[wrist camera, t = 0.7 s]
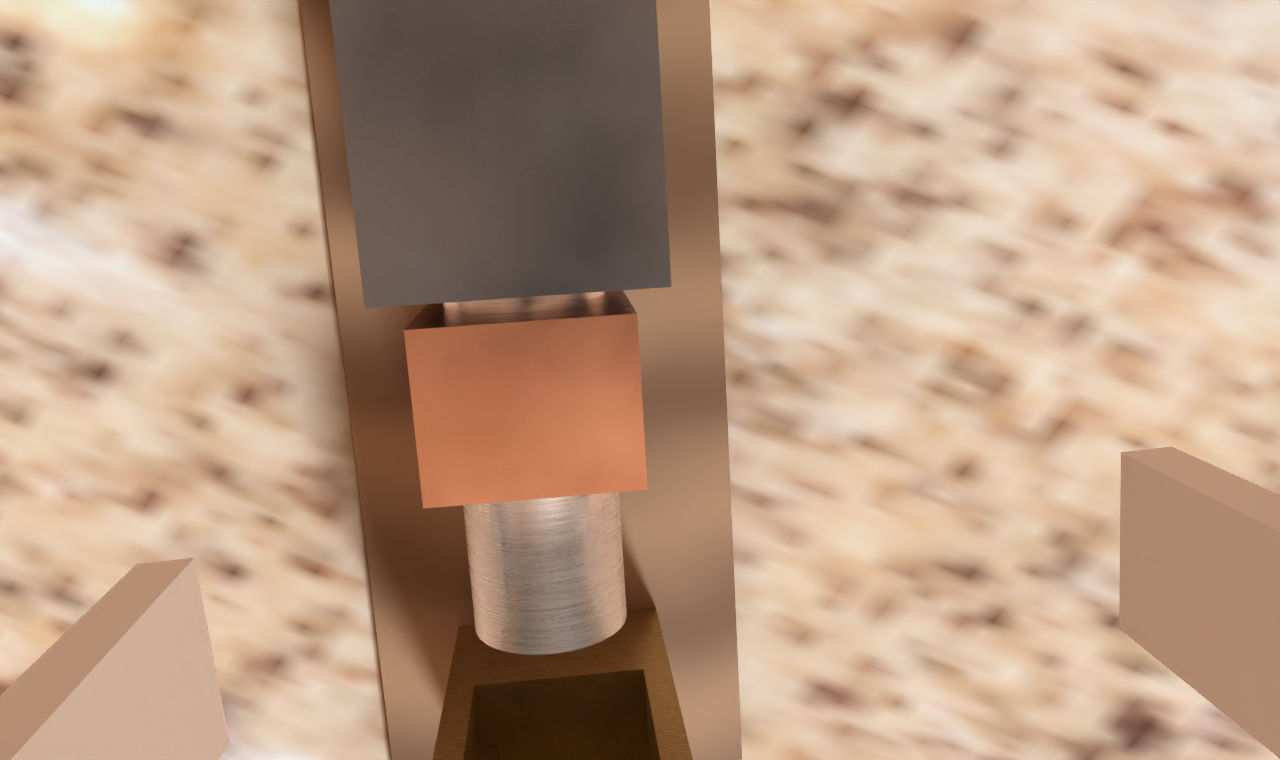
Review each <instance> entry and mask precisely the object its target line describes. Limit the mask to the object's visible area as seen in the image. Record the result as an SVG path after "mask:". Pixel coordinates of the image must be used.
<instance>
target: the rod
mask: <svg viewBox="0 0 1280 760" xmlns="http://www.w3.org/2000/svg"><path fill="white" fill-rule="evenodd" d="M404 337H405V346H406V355H407V364H408V374H409V383H410V392H411V401H412V411H413V420H414V429H415V438H416V447H417V457H418V466H419V475H420V484H421V493H422V503H423V509H424V508H436V507H448V506H460V505H463V509H464V519H465V529H466V539H467V549H468V559H469V569H470V579H471V589H472V599H473V609H474V619H475V629H476V633H477V635H478V637H479V638H480V639H481V640H482V641H483V642H484V643H485V644H487V645H489V646H491V647H493V648H495V649H498V650H501V651H505V652H510V653H516V654H527V655H544V654H556V653H563V652H569V651H574V650H578V649H582V648H585V647H588V646H591V645H594V644H596V643H599V642H601V641H603V640H605V639H607V638H608V637H610V636H612V635H613V634H615V633H616V632H617V631H618V630H619V629H620V628H621V627H622V626H623V624H624V623H625V621H626V617H627V610H626V595H625V580H624V565H623V550H622V535H621V520H620V505H619V492H627V491H639V490H648V484H647V468H646V452H645V435H644V419H643V402H642V386H641V369H640V353H639V336H638V320H637V312H636V311H635V309H634V307H633V306H632V304H631V302H630V301H629V299H628V298H627V296H626V294H625V293H624V291H623V290H620V291H606V292H592V293H578V294H563V295H549V296H535V297H520V298H506V299H492V300H477V301H463V302H449V303H434V304H427V305H426V306H425V307H424V308H423V309H422V310H421V311H420V313H419V314H418V315H417V316H416V317H415V318H414V319H413V320H412V322H411V323H410V324H409V325H408V326H407V327H406V328H405V329H404Z"/></svg>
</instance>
